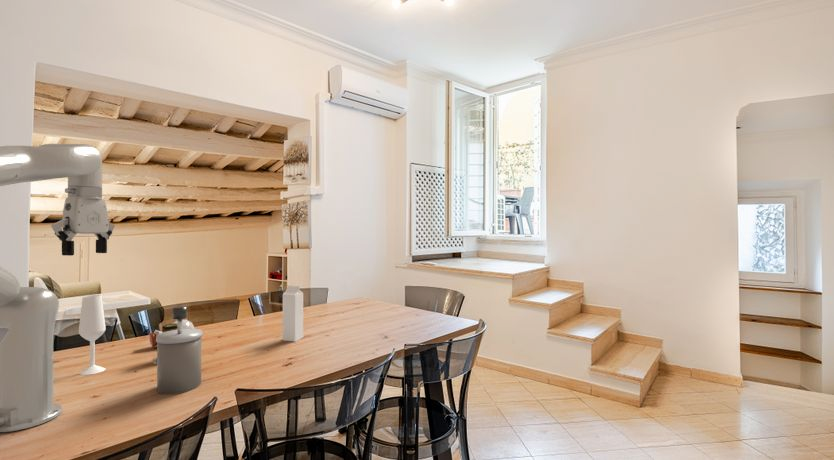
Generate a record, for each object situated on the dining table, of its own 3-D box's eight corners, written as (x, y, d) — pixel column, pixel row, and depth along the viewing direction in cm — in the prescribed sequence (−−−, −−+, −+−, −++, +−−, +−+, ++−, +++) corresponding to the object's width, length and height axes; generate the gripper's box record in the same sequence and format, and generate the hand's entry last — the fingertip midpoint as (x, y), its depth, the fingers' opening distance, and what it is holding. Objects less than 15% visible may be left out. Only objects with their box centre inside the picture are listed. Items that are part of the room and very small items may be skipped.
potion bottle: (197, 344, 161) (155, 357, 151) (189, 327, 166) (147, 338, 155) (200, 328, 157) (156, 341, 146) (191, 311, 162) (148, 322, 151)
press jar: (183, 395, 109) (183, 340, 109) (145, 392, 111) (145, 338, 111) (213, 378, 122) (213, 328, 122) (179, 375, 124) (179, 326, 123)
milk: (290, 336, 168) (291, 284, 168) (303, 337, 167) (303, 285, 167) (282, 340, 163) (282, 286, 163) (295, 341, 161) (295, 287, 161)
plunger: (180, 335, 114) (180, 308, 114) (169, 334, 114) (169, 308, 114) (189, 331, 117) (189, 306, 117) (178, 331, 118) (178, 305, 118)
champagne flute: (102, 365, 132) (102, 293, 132) (108, 370, 128) (108, 295, 127) (76, 371, 127) (76, 296, 127) (81, 376, 122) (81, 298, 122)
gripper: (65, 191, 104) (65, 256, 104) (123, 196, 121) (123, 252, 121) (41, 191, 105) (41, 256, 105) (102, 196, 122) (102, 252, 122)
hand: (85, 254), depth 113 cm, fingers open, 9 cm apart
